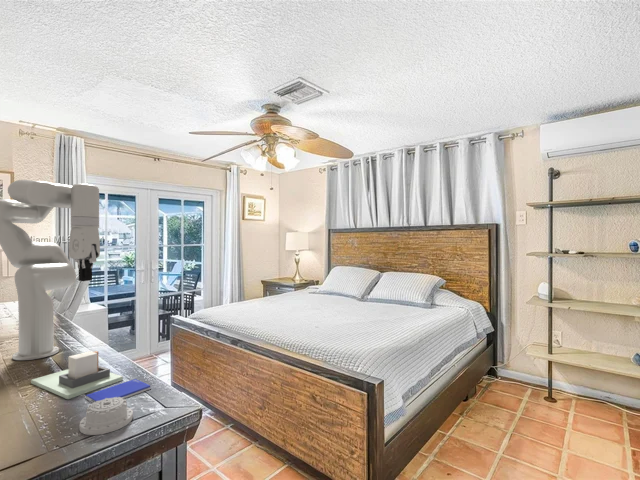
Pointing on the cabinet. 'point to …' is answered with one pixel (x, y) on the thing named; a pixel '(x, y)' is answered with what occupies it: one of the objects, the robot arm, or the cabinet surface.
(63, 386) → the socket board
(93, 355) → the plug
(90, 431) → the mechanical component
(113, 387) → the hard drive
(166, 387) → the cabinet surface
